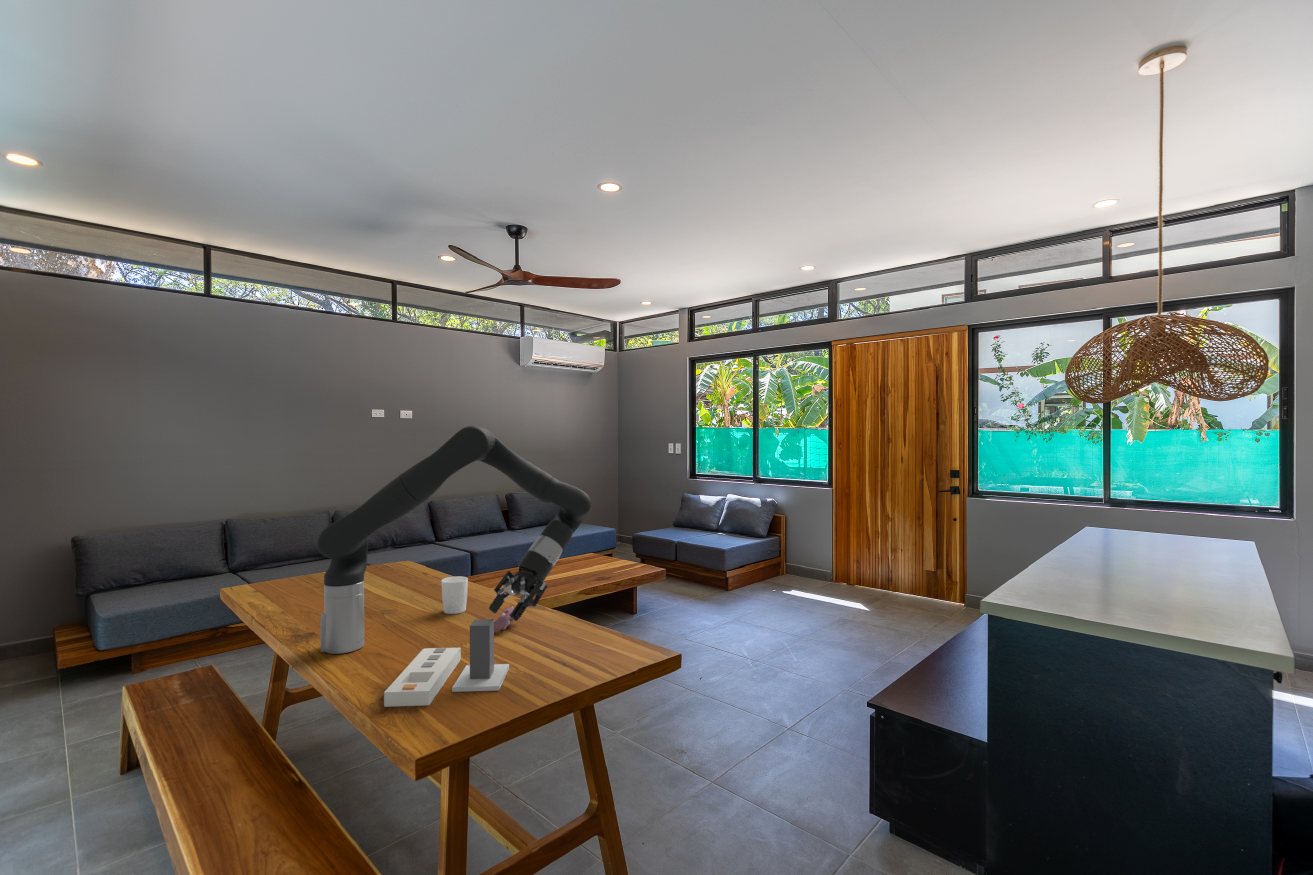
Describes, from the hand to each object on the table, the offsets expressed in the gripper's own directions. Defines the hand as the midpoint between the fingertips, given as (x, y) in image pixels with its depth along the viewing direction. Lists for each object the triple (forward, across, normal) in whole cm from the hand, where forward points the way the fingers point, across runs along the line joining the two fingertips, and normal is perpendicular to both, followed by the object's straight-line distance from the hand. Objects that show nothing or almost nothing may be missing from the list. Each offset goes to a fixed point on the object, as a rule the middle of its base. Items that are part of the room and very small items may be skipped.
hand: (502, 614), depth 135 cm
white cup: (-3, -51, +22) cm, 56 cm away
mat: (+13, 0, +6) cm, 14 cm away
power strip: (+20, -9, 0) cm, 22 cm away
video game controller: (-3, -26, +23) cm, 35 cm away
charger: (+13, 0, +5) cm, 14 cm away
